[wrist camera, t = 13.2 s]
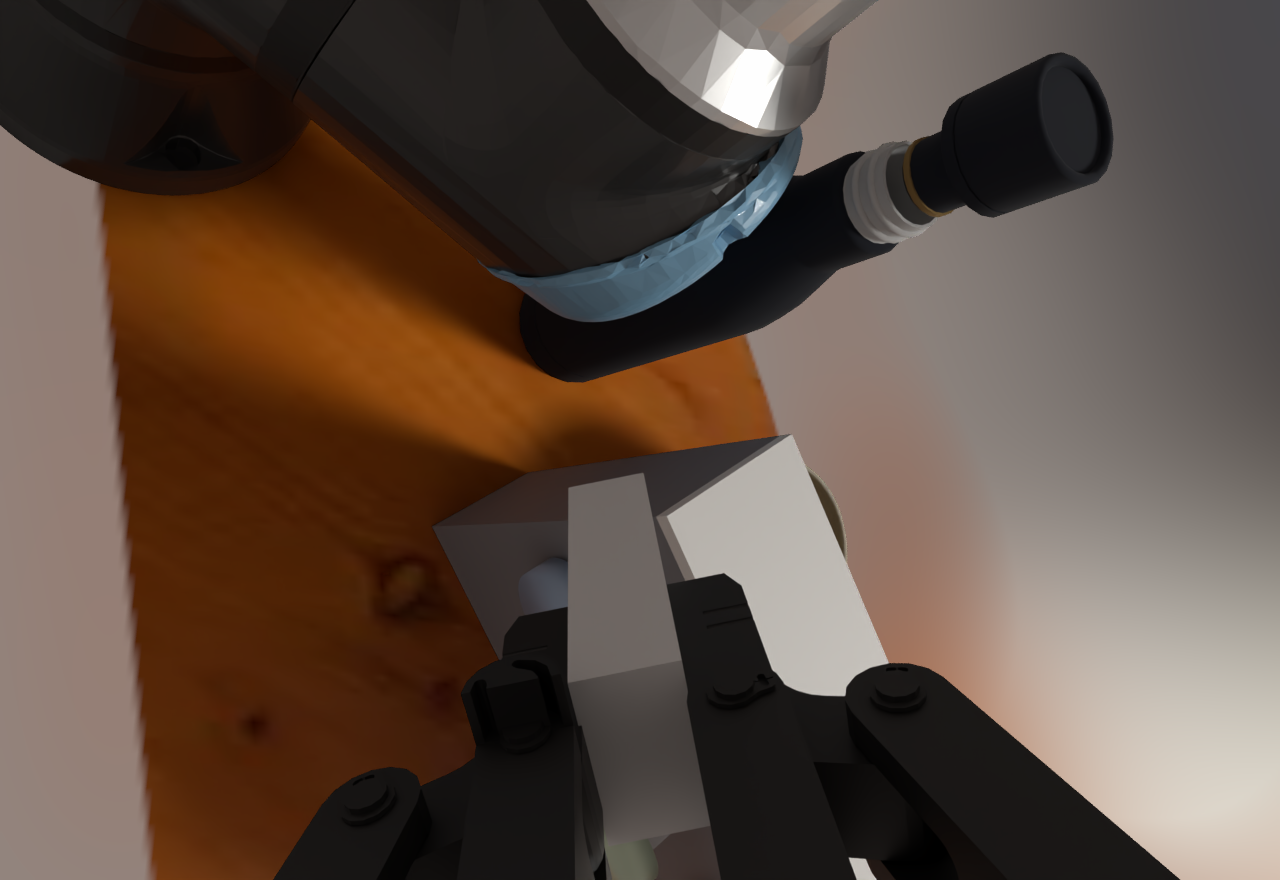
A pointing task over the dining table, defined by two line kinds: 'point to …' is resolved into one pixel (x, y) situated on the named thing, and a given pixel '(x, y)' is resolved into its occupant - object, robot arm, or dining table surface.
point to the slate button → (544, 587)
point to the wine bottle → (858, 217)
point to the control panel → (693, 568)
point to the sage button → (633, 859)
